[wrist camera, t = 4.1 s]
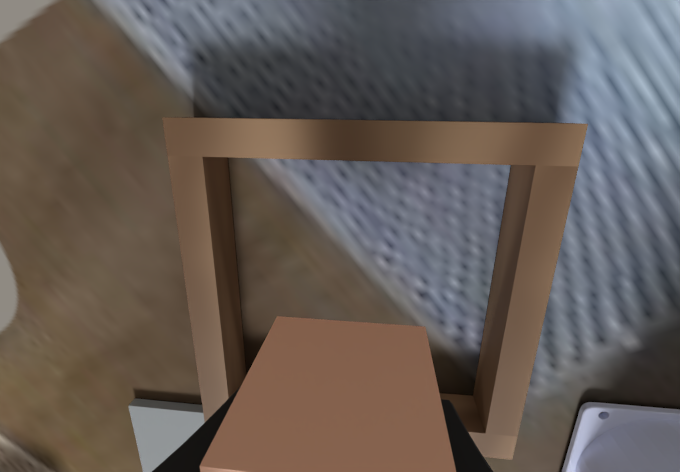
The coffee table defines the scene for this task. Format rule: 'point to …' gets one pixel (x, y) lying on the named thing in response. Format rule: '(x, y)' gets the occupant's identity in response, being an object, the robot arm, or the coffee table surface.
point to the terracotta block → (336, 403)
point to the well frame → (391, 146)
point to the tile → (162, 428)
